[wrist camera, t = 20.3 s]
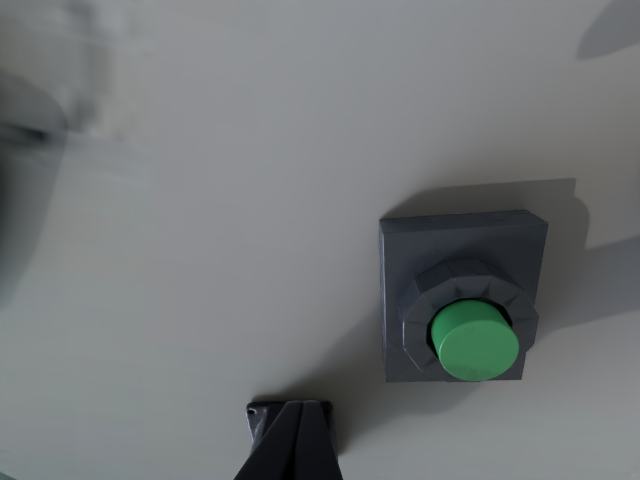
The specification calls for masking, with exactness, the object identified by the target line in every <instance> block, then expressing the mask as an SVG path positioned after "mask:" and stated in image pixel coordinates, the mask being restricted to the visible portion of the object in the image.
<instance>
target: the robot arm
mask: <svg viewBox="0 0 640 480" xmlns="http://www.w3.org/2000/svg"><path fill="white" fill-rule="evenodd" d="M245 412H246V417H247V421H248V425H249V429H250V433H251V437H252V442H253V445H252V449H251V452H250V456H249V458H248V459H247V461H246V462H245V464H244V465H243V467H242V468H241V470H240V471H239V473H238V474H237V475H236V477H235V478H234V480H343V478H342V474H341V471H340V468H339V464H338V451H337V442H336V432H335V423H334V414H333V406H332V404H331V403H329V402H319V401H317V400H308V401H304V402H303V401H288V402H254V403H249V404H248V405H247V407H246V410H245Z"/></svg>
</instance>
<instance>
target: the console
mask: <svg viewBox="0 0 640 480" xmlns="http://www.w3.org/2000/svg"><path fill="white" fill-rule="evenodd" d="M547 228H548V223H547V222H546V221H544V220H542V219H541V218H539V217H537V216H536V215H534V214H532V213H531V212H529V211H527V210H515V211H500V212H484V213H469V214H454V215H438V216H423V217H408V218H392V219H379V245H380V279H381V313H382V347H383V362H384V369H385V376H386V382H426V381H446V382H480V381H468V380H463V379H460V378H457V377H455V376H453V375H451V374H450V373H449V372H448V371H446V370H445V368H444V367H443V366H442V364H441V362H440V359H439V357H438V354H437V351H436V348H435V346H434V343H433V340H432V337H431V327H432V323H433V321H434V319H435V317H436V316H437V315H438V313H439V312H440V311H441V310H442V309H444V308H445V307H447V306H448V305H450V304H452V303H455V302H458V301H462V300H480V301H484V302H486V303H489V304H490V305H492V306H494V307H495V308H496V309H497V310H498V311H499V312H500V314H501V315H502V316H503V318H504V319H505V320H506V322H507V323H508V325H509V326H510V327H511V329H512V330H513V331H514V333H515V334H516V336H517V338H518V342H519V352H518V355H517V358H516V360H515V361H514V363H513V364H512V365H511V367H509V368H508V369H507V370H506V371H505V372H503V373H502V374H500V375H498V376H496V377H494V378H491V379H487V380H521V379H522V374H523V368H524V362H525V356H526V352H527V351H528V350H529V349H530V348H531V347H532V345H533V344H534V340H535V334H536V329H537V323H538V318H539V317H538V314H537V312H536V310H535V308H534V304H535V298H536V292H537V286H538V280H539V274H540V269H541V263H542V257H543V251H544V245H545V239H546V233H547ZM482 381H484V380H482Z"/></svg>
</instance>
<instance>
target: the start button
mask: <svg viewBox="0 0 640 480" xmlns="http://www.w3.org/2000/svg"><path fill="white" fill-rule="evenodd" d="M431 337H432V340H433V343H434V346H435V348H436V351H437V354H438V357H439V359H440V362H441V364H442V366H443V367H444V368H445V370H446V371H448V372H449V373H450V374H451V375H453V376H455V377H457V378H460V379H463V380H468V381H482V380H487V379H491V378H494V377H496V376H498V375H500V374H502V373H503V372H505V371H506V370H507V369H508V368H509V367H511V365H512V364H513V363H514V361H515V360H516V358H517V355H518V352H519V342H518V338H517V336H516V334H515V333H514V331H513V330H512V329H511V327H510V326H509V325H508V323H507V322H506V320H505V319H504V318H503V316H502V315H501V314H500V312H499V311H498V310H497V309H496V308H495V307H494V306H492V305H490V304H489V303H486V302H484V301H480V300H462V301H458V302H455V303H452V304H450V305H448V306H447V307H445V308H444V309H442V310H441V311H440V312H439V313H438V315H437V316H436V317H435V319H434V321H433V323H432V327H431Z"/></svg>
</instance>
